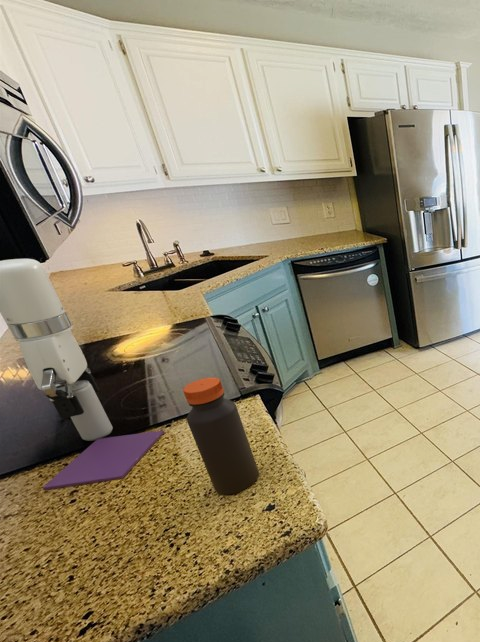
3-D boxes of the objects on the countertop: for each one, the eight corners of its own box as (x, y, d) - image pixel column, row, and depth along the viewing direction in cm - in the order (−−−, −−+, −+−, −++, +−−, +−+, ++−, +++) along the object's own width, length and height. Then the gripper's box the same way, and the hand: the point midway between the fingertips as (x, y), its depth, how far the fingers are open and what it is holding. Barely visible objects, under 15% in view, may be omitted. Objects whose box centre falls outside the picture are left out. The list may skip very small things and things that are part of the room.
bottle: (214, 502, 68) (173, 400, 60) (215, 478, 74) (176, 382, 66) (260, 485, 72) (227, 387, 64) (258, 463, 77) (226, 370, 69)
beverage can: (76, 440, 84) (49, 390, 80) (103, 426, 89) (78, 378, 84) (94, 443, 83) (67, 393, 79) (119, 429, 88) (95, 381, 83)
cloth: (43, 490, 72) (42, 487, 71) (98, 441, 84) (97, 438, 84) (122, 478, 74) (121, 476, 74) (164, 432, 86) (163, 430, 86)
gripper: (32, 316, 81) (71, 390, 88) (-12, 347, 67) (38, 432, 74) (83, 309, 85) (116, 381, 91) (51, 337, 71) (93, 419, 78)
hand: (81, 403), depth 83 cm, fingers open, 9 cm apart
